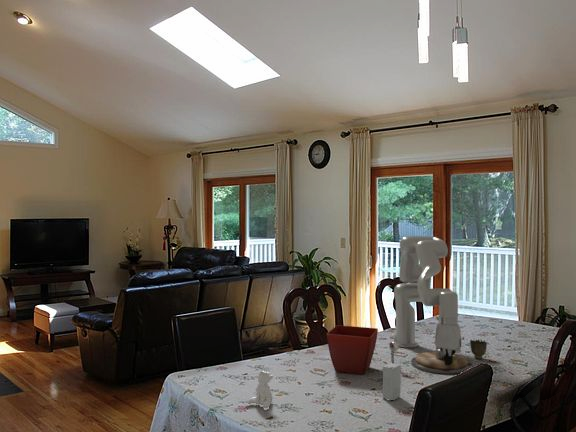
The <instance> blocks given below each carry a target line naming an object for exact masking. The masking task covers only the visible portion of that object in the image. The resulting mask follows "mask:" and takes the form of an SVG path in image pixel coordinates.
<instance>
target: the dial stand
mask: <svg viewBox="0 0 576 432" xmlns="http://www.w3.org/2000/svg"><path fill="white" fill-rule="evenodd" d="M388 346H389V349H390V352H391V353H390V356H391V360H390V361H391V362H390V363H393V364H395V352H397V351H398V350H399V349H400V347H399V346H398V344H397V343H396V342H393V341H391V342H390V343H389V345H388Z"/></svg>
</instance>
